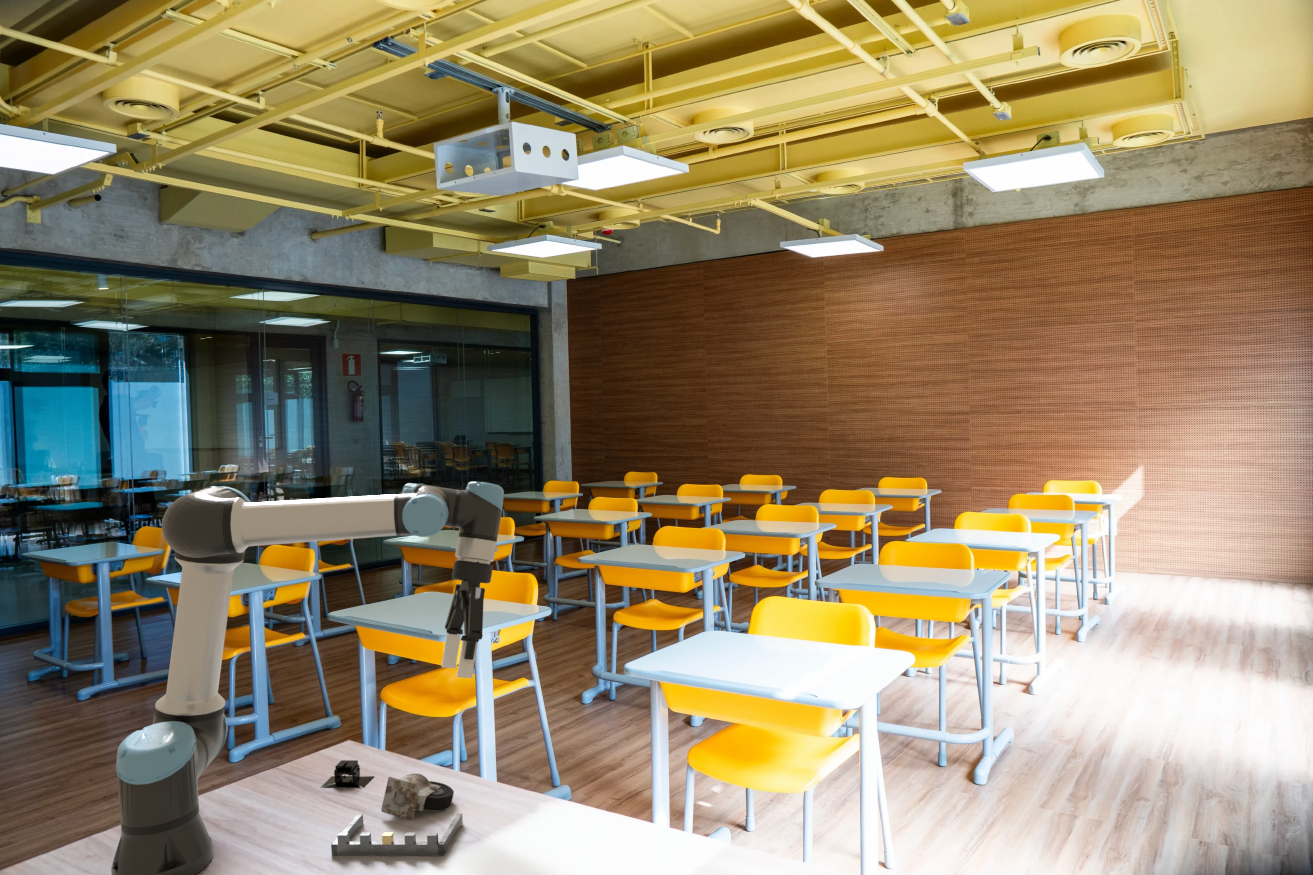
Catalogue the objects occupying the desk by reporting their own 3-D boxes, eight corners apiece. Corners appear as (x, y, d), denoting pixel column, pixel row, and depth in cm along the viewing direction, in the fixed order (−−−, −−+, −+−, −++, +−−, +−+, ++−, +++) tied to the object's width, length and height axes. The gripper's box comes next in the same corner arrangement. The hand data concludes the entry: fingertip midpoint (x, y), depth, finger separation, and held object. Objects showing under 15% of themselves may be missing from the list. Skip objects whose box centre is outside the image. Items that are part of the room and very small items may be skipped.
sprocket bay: (331, 855, 148) (330, 835, 148) (358, 823, 159) (357, 805, 159) (443, 855, 147) (442, 835, 146) (462, 823, 158) (461, 804, 157)
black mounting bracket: (311, 792, 174) (309, 770, 174) (327, 776, 182) (326, 755, 181) (369, 792, 173) (368, 770, 173) (383, 776, 181) (382, 755, 180)
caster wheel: (455, 811, 168) (432, 829, 158) (404, 795, 170) (379, 812, 161) (463, 777, 168) (440, 793, 159) (412, 762, 171) (387, 777, 161)
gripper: (510, 565, 156) (492, 683, 153) (477, 562, 179) (460, 665, 175) (470, 559, 153) (450, 680, 149) (441, 557, 176) (423, 662, 172)
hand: (455, 672), depth 162 cm, fingers open, 13 cm apart
